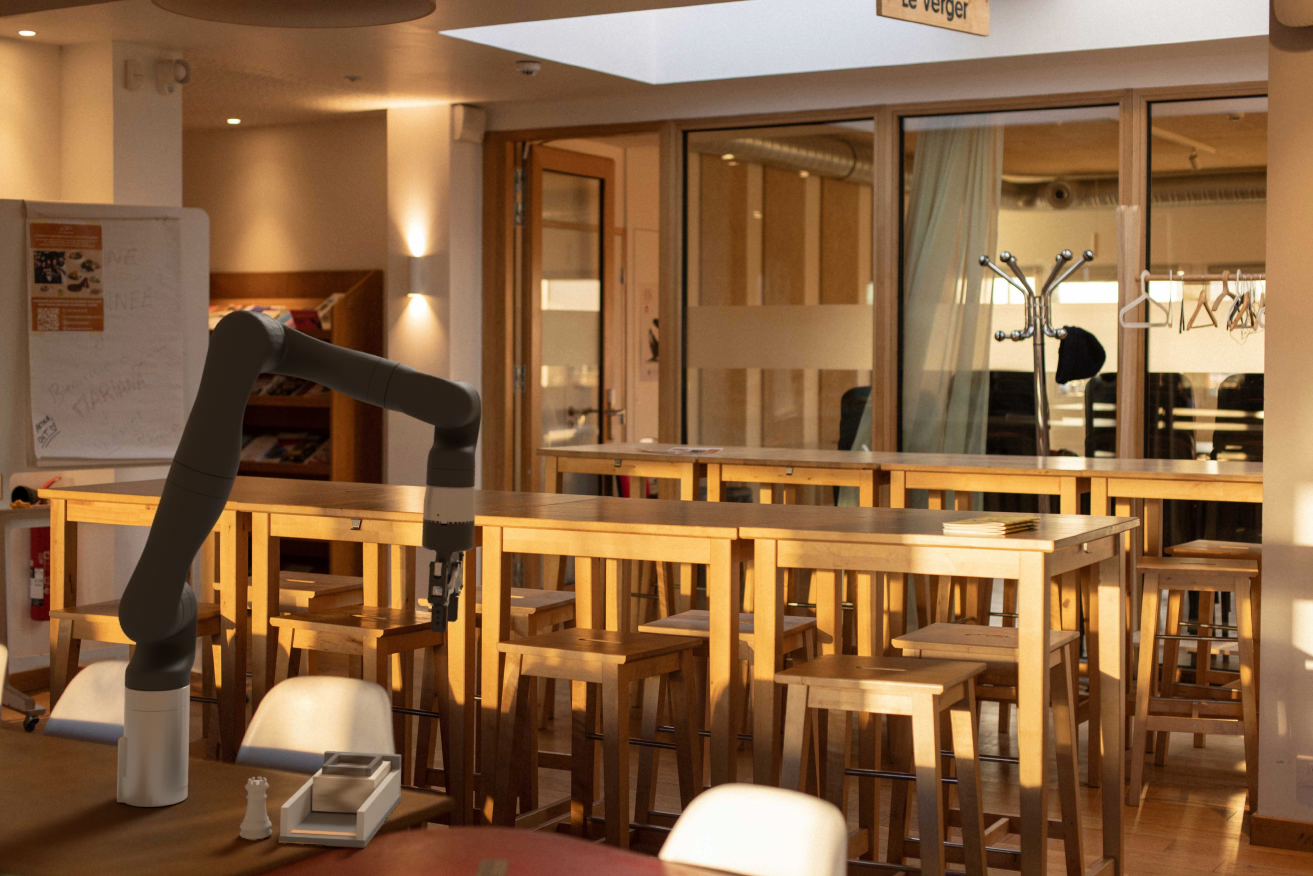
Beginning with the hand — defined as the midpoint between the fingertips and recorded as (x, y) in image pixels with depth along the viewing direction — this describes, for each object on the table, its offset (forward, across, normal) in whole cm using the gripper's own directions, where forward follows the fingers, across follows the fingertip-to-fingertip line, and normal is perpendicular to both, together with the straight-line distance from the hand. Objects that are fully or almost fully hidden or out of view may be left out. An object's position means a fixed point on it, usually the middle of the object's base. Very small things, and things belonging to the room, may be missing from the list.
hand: (444, 626), depth 210 cm
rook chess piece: (+29, +13, -23) cm, 39 cm away
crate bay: (+28, +5, -13) cm, 31 cm away
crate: (+27, 0, -13) cm, 30 cm away
